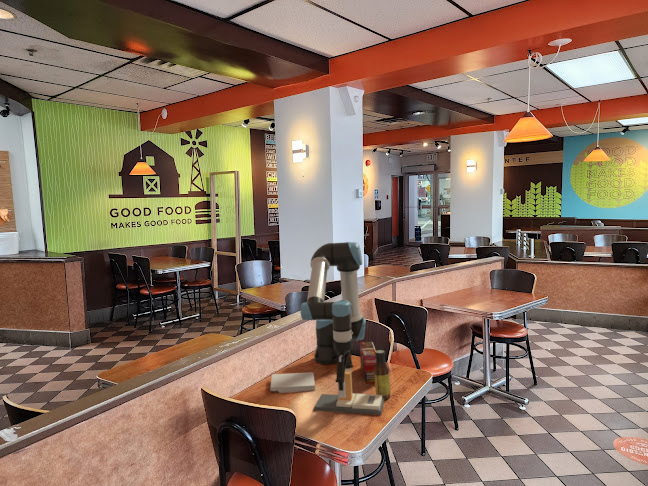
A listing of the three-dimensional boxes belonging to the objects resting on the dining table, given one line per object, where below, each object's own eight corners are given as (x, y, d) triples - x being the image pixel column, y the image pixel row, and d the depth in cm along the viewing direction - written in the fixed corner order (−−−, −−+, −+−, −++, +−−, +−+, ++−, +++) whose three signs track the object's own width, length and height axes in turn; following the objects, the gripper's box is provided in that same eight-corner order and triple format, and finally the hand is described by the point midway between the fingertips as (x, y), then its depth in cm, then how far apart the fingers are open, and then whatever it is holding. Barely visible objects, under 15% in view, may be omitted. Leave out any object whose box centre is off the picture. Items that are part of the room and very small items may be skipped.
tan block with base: (341, 395, 183) (340, 367, 182) (355, 396, 182) (353, 368, 180) (336, 406, 173) (334, 377, 172) (351, 407, 172) (349, 377, 171)
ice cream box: (379, 383, 197) (377, 355, 196) (365, 384, 197) (363, 356, 196) (373, 367, 217) (372, 341, 216) (360, 368, 217) (359, 342, 216)
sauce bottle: (393, 396, 184) (391, 351, 182) (384, 401, 179) (382, 355, 178) (381, 392, 188) (379, 348, 187) (372, 397, 184) (370, 352, 182)
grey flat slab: (313, 378, 209) (272, 381, 208) (313, 372, 209) (272, 374, 208) (315, 392, 194) (270, 394, 193) (314, 385, 194) (270, 387, 193)
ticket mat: (321, 397, 186) (321, 390, 186) (384, 401, 180) (384, 393, 179) (314, 410, 175) (314, 403, 175) (380, 414, 168) (380, 407, 168)
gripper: (345, 350, 162) (348, 404, 164) (357, 331, 186) (359, 378, 188) (326, 349, 164) (329, 403, 166) (340, 330, 188) (342, 377, 190)
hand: (345, 390), depth 177 cm, fingers open, 13 cm apart
